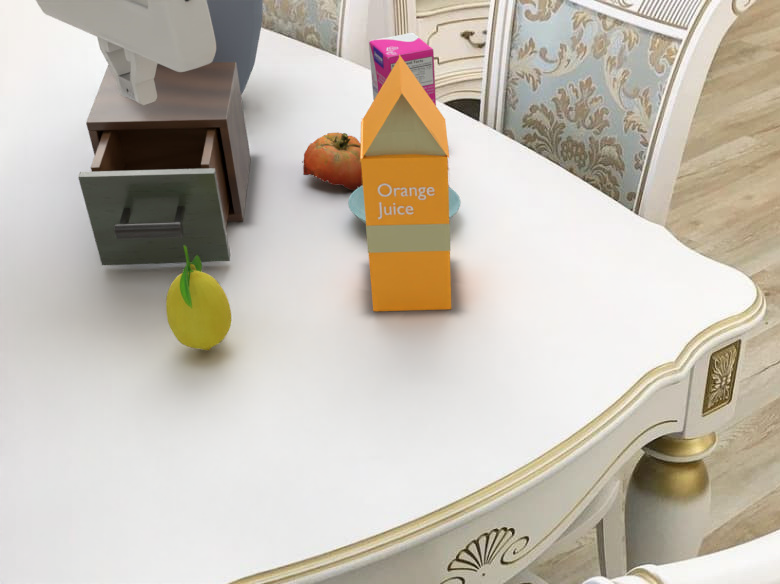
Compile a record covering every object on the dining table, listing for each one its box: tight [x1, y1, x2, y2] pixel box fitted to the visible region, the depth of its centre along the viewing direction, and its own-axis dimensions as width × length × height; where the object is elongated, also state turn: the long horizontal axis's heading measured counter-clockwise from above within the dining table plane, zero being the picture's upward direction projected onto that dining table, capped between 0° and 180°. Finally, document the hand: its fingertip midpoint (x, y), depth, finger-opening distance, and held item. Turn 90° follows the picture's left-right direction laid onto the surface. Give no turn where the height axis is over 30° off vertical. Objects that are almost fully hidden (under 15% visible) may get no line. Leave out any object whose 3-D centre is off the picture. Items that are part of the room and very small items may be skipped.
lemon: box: [165, 245, 233, 351], centre depth 97 cm, size 7×6×10 cm
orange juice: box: [360, 55, 452, 312], centre depth 102 cm, size 8×9×20 cm
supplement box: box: [368, 32, 437, 106], centre depth 127 cm, size 6×6×12 cm
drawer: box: [78, 127, 231, 266], centre depth 109 cm, size 19×12×9 cm, turn 6°
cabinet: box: [85, 62, 252, 223], centre depth 119 cm, size 16×14×11 cm
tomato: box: [301, 132, 363, 191], centre depth 124 cm, size 8×7×7 cm
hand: (139, 98), depth 91 cm, fingers closed
